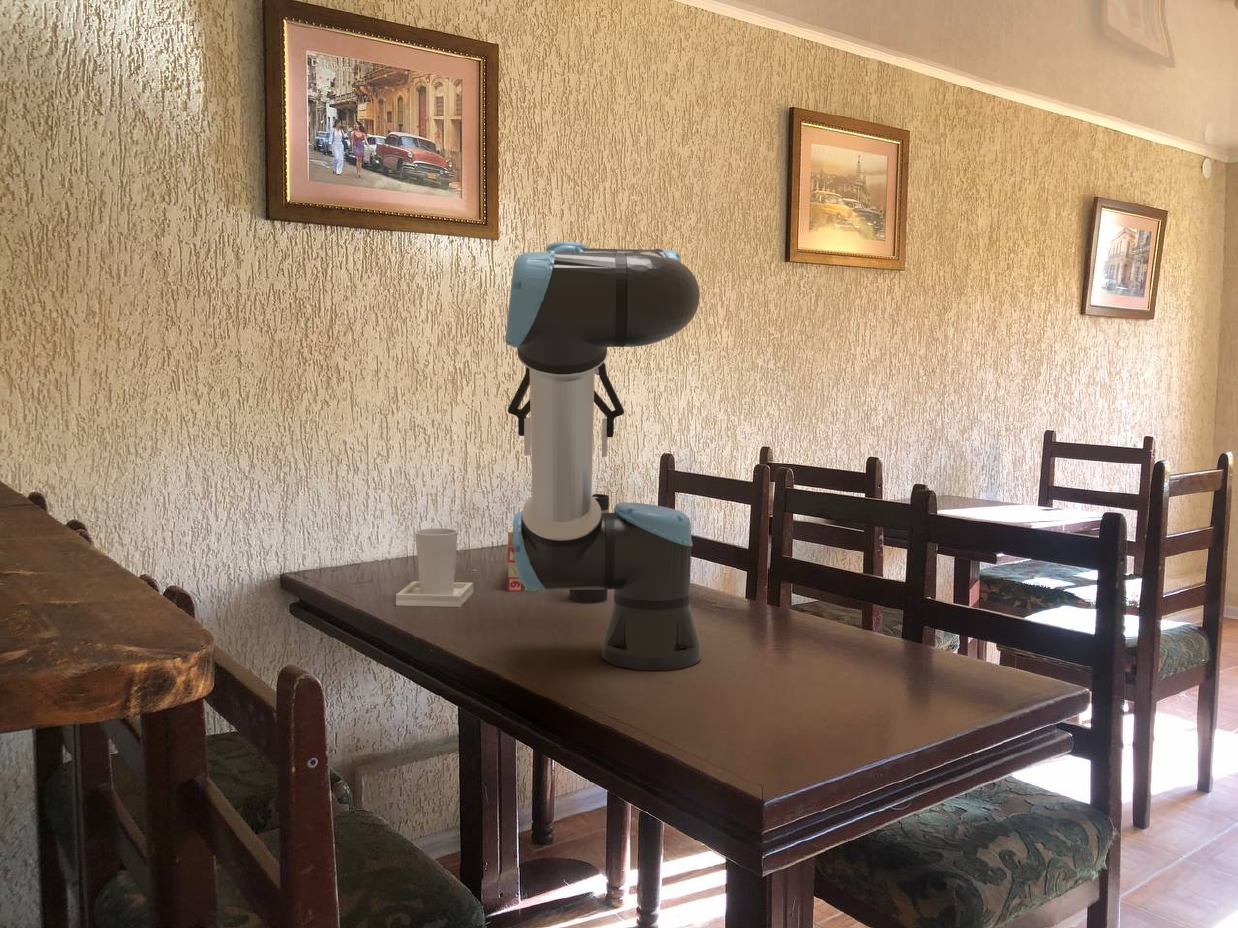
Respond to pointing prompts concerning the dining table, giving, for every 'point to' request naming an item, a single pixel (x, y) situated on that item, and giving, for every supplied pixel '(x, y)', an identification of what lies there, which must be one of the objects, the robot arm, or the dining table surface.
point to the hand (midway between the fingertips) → (565, 455)
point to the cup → (436, 560)
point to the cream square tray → (434, 596)
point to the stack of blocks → (514, 569)
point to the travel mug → (593, 594)
